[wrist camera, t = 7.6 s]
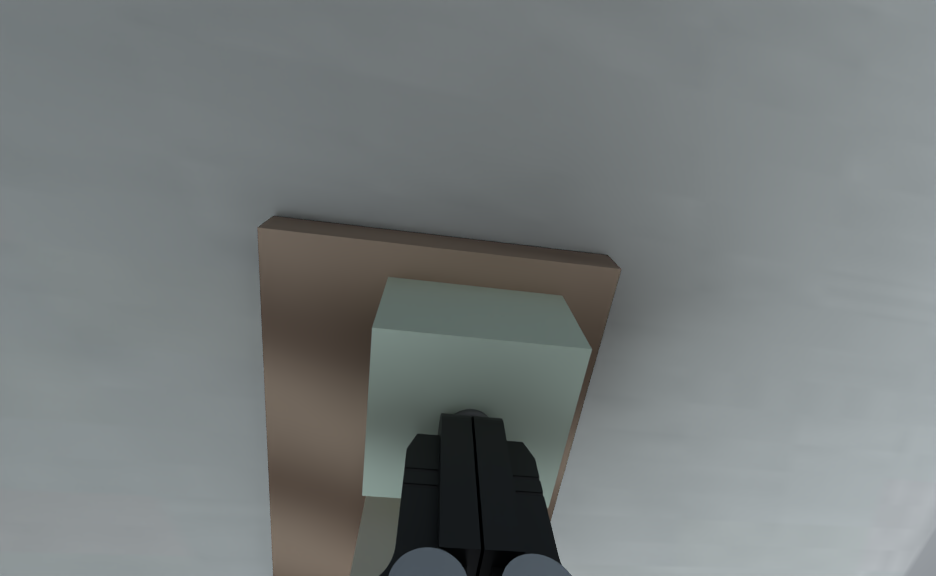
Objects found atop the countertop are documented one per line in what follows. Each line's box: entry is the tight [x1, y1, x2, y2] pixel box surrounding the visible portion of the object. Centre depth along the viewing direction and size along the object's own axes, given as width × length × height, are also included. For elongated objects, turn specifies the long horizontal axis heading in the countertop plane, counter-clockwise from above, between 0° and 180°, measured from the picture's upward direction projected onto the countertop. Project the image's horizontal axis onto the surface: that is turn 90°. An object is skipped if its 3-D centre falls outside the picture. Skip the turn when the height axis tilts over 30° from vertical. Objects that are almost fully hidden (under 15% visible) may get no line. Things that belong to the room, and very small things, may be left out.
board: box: [257, 216, 621, 576], centre depth 17 cm, size 19×10×1 cm, turn 172°
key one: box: [362, 277, 592, 508], centre depth 13 cm, size 5×5×3 cm
